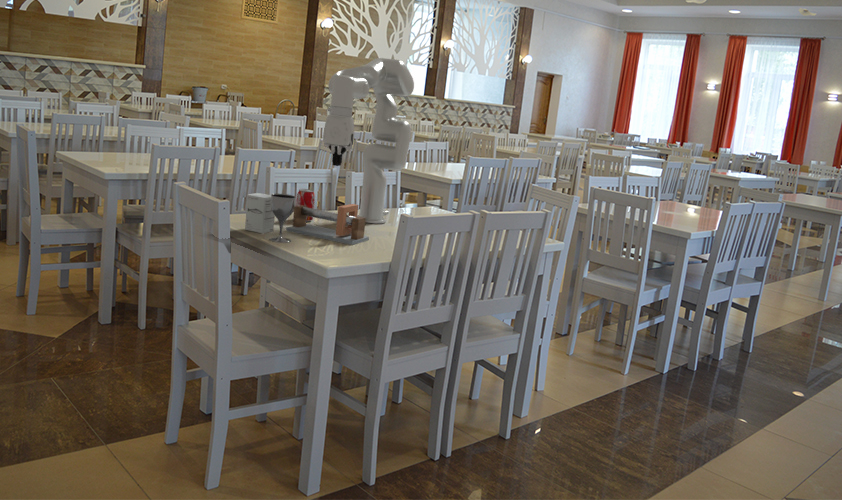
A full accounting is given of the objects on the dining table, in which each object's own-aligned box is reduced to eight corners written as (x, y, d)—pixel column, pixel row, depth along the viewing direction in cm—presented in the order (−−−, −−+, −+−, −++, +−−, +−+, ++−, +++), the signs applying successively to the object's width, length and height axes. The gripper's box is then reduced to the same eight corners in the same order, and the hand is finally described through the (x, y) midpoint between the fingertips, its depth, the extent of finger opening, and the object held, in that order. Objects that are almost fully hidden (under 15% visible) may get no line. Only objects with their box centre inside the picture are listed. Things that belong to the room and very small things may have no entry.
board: (286, 230, 239) (286, 227, 239) (304, 226, 250) (304, 223, 250) (352, 244, 229) (352, 241, 229) (368, 240, 240) (369, 236, 240)
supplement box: (244, 230, 232) (246, 194, 229) (256, 227, 239) (258, 192, 236) (262, 234, 229) (264, 197, 227) (274, 231, 236) (276, 195, 233)
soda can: (309, 223, 257) (311, 192, 255) (291, 220, 258) (294, 189, 256) (315, 220, 264) (318, 190, 261) (298, 217, 265) (301, 187, 263)
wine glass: (270, 242, 218) (273, 197, 215) (265, 237, 225) (269, 193, 222) (294, 243, 222) (298, 198, 218) (289, 237, 229) (292, 194, 225)
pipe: (297, 215, 241) (298, 206, 240) (302, 214, 244) (303, 205, 244) (356, 227, 233) (356, 217, 232) (360, 226, 236) (361, 216, 235)
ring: (335, 234, 232) (338, 206, 230) (349, 231, 241) (352, 203, 239) (341, 236, 232) (344, 207, 229) (355, 232, 241) (358, 205, 238)
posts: (292, 229, 242) (294, 206, 240) (300, 227, 247) (301, 205, 245) (356, 243, 233) (358, 219, 231) (363, 241, 237) (365, 217, 235)
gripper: (316, 109, 230) (312, 162, 235) (355, 114, 225) (350, 169, 229) (328, 110, 237) (323, 161, 241) (365, 115, 232) (360, 168, 236)
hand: (336, 165), depth 235 cm, fingers closed
